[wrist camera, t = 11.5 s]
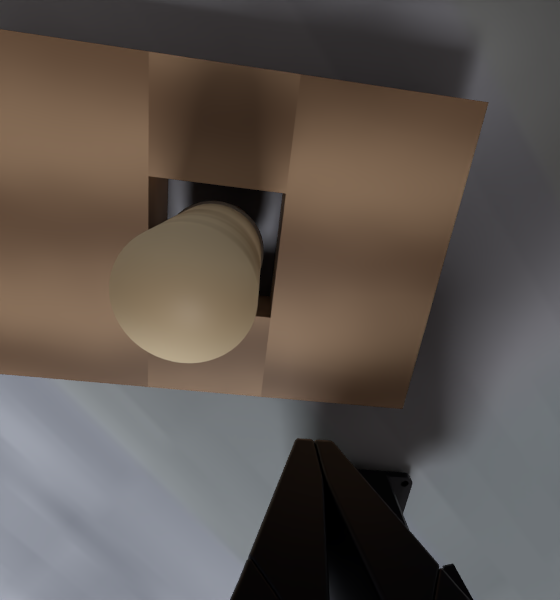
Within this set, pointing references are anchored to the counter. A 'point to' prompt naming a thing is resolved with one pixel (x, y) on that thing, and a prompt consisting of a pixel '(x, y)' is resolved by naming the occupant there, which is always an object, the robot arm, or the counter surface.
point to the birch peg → (190, 283)
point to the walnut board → (235, 173)
